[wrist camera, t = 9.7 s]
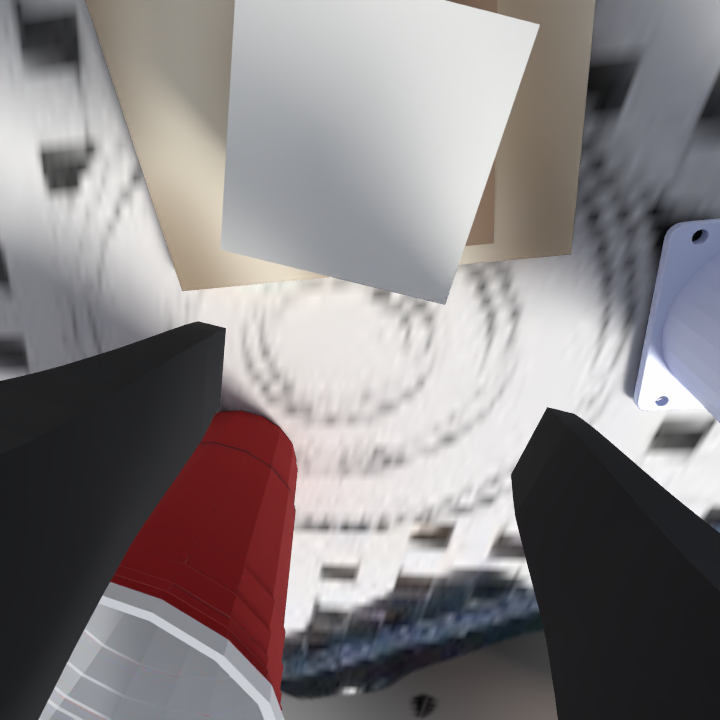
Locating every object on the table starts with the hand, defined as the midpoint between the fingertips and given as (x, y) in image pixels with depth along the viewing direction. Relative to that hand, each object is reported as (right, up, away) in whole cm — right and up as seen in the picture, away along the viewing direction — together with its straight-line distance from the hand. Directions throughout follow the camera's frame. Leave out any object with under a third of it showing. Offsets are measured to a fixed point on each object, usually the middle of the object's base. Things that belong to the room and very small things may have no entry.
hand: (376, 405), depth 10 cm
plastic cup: (-7, -4, +14) cm, 16 cm away
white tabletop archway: (0, +8, +5) cm, 10 cm away
